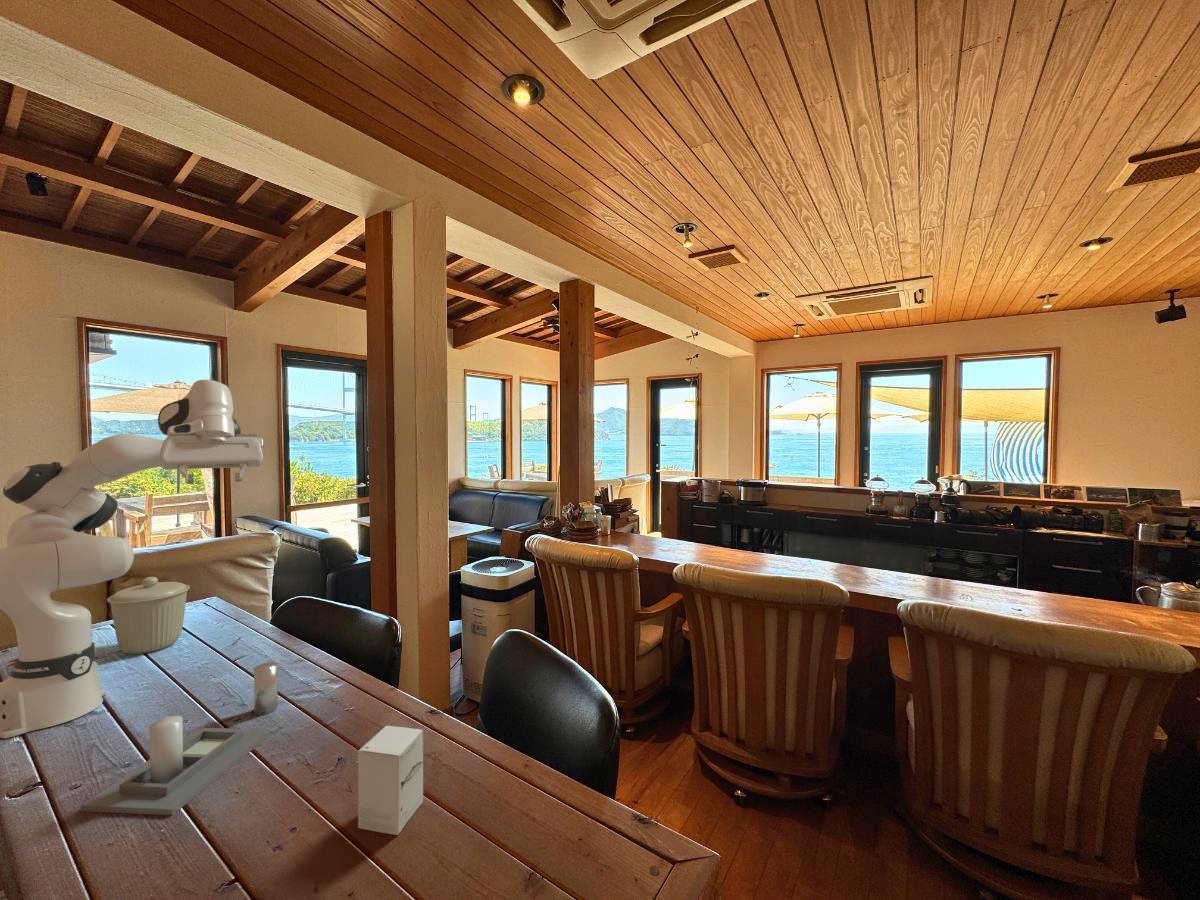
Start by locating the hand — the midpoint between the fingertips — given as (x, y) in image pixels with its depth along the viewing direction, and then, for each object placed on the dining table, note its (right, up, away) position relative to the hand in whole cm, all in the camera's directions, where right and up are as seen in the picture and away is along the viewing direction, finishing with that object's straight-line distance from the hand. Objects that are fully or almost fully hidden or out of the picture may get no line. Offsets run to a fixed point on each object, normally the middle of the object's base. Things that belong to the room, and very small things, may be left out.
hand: (214, 481), depth 119 cm
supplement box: (+61, -52, -40) cm, 90 cm away
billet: (+18, -52, -8) cm, 56 cm away
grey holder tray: (+17, -52, -28) cm, 62 cm away
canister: (-40, -51, +26) cm, 70 cm away
